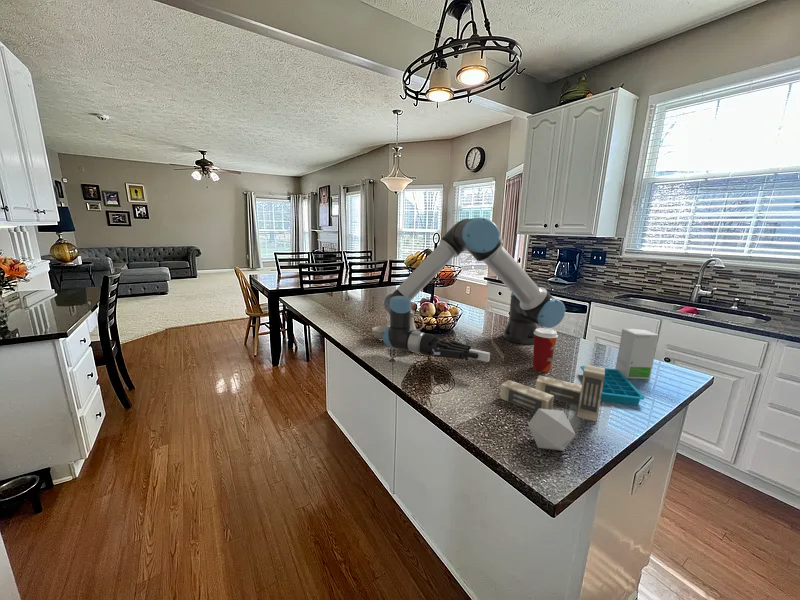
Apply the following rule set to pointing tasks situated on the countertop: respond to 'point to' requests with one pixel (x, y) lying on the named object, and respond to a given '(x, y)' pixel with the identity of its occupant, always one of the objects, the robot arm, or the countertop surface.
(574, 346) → the countertop surface
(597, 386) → the post
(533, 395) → the post
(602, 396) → the ice cube tray
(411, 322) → the chinaware
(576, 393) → the post
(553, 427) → the die
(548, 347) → the paper cup
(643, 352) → the skincare box
